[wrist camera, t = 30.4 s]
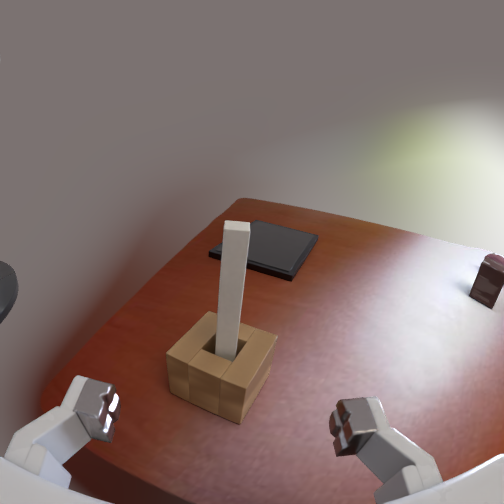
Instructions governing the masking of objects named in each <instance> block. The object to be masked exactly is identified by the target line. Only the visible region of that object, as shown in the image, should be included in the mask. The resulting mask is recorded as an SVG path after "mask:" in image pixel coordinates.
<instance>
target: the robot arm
mask: <svg viewBox="0 0 504 504" xmlns="http://www.w3.org/2000/svg"><path fill="white" fill-rule="evenodd" d="M115 393H116V388H115V385H114V384H109V383H105V382H101V381H97V380H93V379H90V378H86V377H82V376H78V375H77V376H76V377H75V378H74V379H73V381H72V383H71V385H70V387H69V389H68V391H67V393H66V396H65V398H64V400H63V402H62V404H61V406H60V407H58V406H56V407H55V408H53V409H52V410H50V411H49V412H47V413H45V414H44V415H42V416H40V417H39V418H37V419H36V420H34V421H32V422H31V423H29V424H28V425H26V426H24V427H23V428H21V429H19V430H18V431H16V432H15V434H14V436H13V438H12V440H11V442H10V444H9V447H8V449H7V451H6V454H5V456H4V458H2V457H1V456H0V504H113V503H109V502H106V501H102V500H99V499H96V498H92V497H90V496H87V495H84V494H81V493H78V492H75V491H72V490H70V489H68V487H69V483H70V480H71V475H70V474H69V472H67V471H66V469H65V468H64V467H63V466H62V464H63V463H65V462H66V461H67V460H68V459H69V458H70V457H72V456H73V455H74V454H75V453H76V452H77V451H78V450H79V449H80V448H82V447H83V446H84V445H85V444H86V443H87V442H89V441H90V440H91V438H93V439H97V440H101V441H105V442H109V443H111V442H112V439H113V435H114V432H115V427H114V425H113V423H114V422H116V421H117V420H118V419H119V415H120V408H121V405H120V400H119V397H118V396H117V395H115ZM336 407H337V409H336V410H335V411H333V412H332V414H331V416H330V420H329V428H330V433H331V434H332V435H333V436H334V437H335V440H334V442H333V445H334V449H335V453H336V457H338V456H347V455H355V454H357V455H356V456H357V457H358V458H359V459H360V460H361V461H362V462H363V463H364V464H365V465H366V466H367V467H368V468H369V469H370V470H371V471H372V472H373V473H374V474H375V475H376V476H377V477H378V478H379V479H380V480H381V481H382V482H383V483H384V484H383V485H382V486H381V487H379V488H378V489H377V490H376V491H375V492H374V497H375V501H376V504H504V454H499V455H497V456H495V457H493V458H491V459H490V460H488V461H486V462H484V463H482V464H480V465H479V466H477V467H475V468H473V469H471V470H469V471H467V472H465V473H463V474H461V475H458V476H456V477H454V478H452V479H450V480H447V481H445V482H443V480H442V477H441V475H440V472H439V470H438V467H437V465H436V463H435V460H434V458H433V457H432V456H431V455H429V454H428V453H427V452H425V451H424V450H423V449H421V448H420V447H419V446H417V445H416V444H415V443H413V442H412V441H410V440H409V439H408V438H406V437H405V436H404V435H403V434H401V433H400V432H399V431H397V430H396V429H395V428H390V425H389V423H388V420H387V418H386V415H385V413H384V410H383V408H382V406H381V403H380V401H379V398H377V397H376V396H373V397H366V398H363V397H362V398H352V399H342V400H339V401H338V403H337V404H336Z"/></svg>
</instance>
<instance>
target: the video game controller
mask: <svg viewBox="0 0 504 504" xmlns="http://www.w3.org/2000/svg"><path fill="white" fill-rule="evenodd" d="M486 257H489V258H491V259H492V260H494V261H496V262H498V263H500V264H502V265H504V258H503V257H501V256H499V255H495V253H493V254H489V255H487V256H485V258H486Z"/></svg>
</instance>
